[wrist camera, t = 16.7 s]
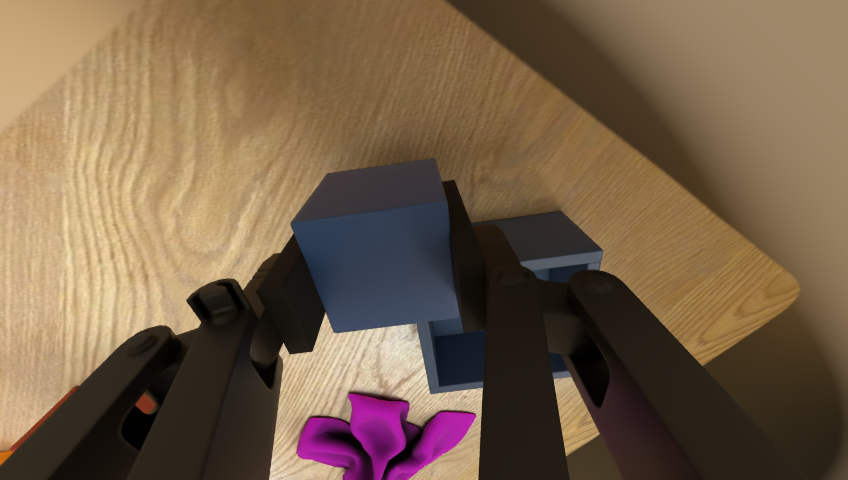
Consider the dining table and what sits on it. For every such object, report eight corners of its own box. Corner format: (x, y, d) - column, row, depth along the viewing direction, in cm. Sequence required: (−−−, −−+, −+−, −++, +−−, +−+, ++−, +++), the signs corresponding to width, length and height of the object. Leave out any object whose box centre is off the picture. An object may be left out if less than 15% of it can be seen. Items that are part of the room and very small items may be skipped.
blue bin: (407, 231, 23) (407, 276, 18) (561, 210, 22) (603, 250, 18) (426, 338, 29) (430, 394, 24) (549, 323, 28) (578, 376, 23)
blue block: (326, 172, 14) (288, 223, 9) (435, 157, 14) (447, 201, 9) (353, 262, 16) (333, 334, 12) (445, 250, 16) (459, 318, 12)
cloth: (371, 492, 44) (366, 551, 38) (262, 443, 36) (237, 508, 31) (502, 434, 37) (517, 495, 32) (404, 359, 30) (403, 423, 24)
